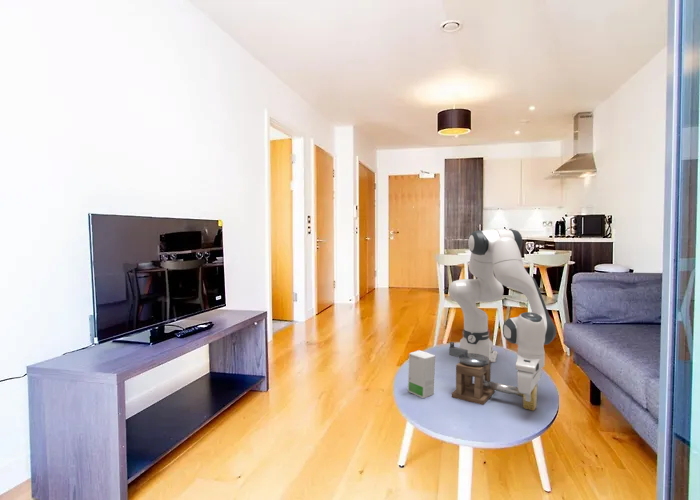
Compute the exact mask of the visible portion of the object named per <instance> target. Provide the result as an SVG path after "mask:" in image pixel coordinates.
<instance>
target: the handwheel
mask: <svg viewBox="0 0 700 500" xmlns="http://www.w3.org/2000/svg"><path fill="white" fill-rule="evenodd" d="M448 351H449V353H448V356H451V357H454V358H455V357H456V358H458V363H459V362H460V363H462V364H464V365H468V366H474V367H481V366H486V365H488V364H489V358H488V357H486V356H484V355H481V354H474V353H468V350H466V349H462V348H460V347H456V346H455V342H454V341H451V342H449V349H448Z"/></svg>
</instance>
